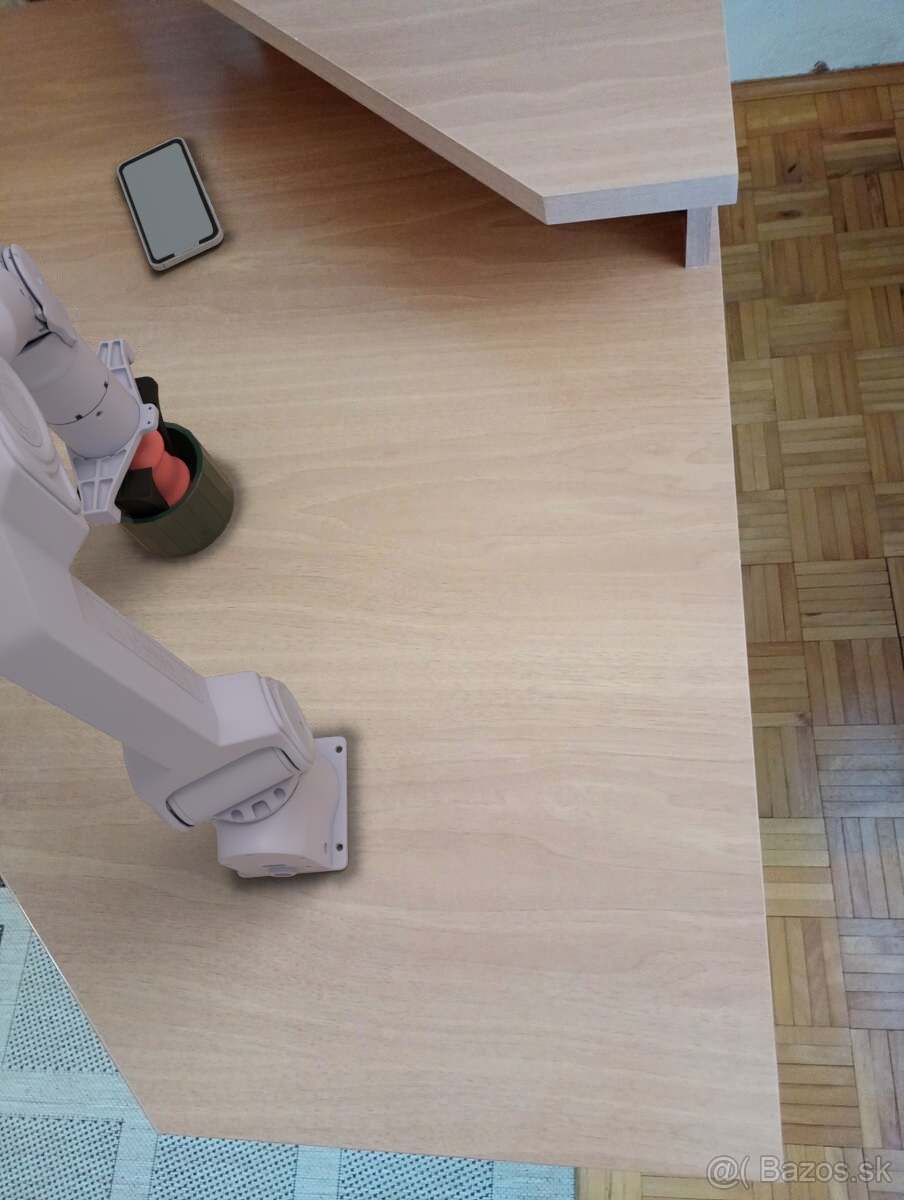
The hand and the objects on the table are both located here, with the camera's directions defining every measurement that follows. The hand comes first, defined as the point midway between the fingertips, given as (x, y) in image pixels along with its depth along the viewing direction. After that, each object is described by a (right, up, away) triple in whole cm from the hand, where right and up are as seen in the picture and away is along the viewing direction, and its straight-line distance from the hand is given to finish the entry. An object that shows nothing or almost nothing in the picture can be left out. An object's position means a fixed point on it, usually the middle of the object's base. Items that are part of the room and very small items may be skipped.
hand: (160, 484), depth 85 cm
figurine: (+1, -1, +3) cm, 3 cm away
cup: (+1, -2, +4) cm, 4 cm away
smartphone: (-4, +28, +17) cm, 33 cm away
